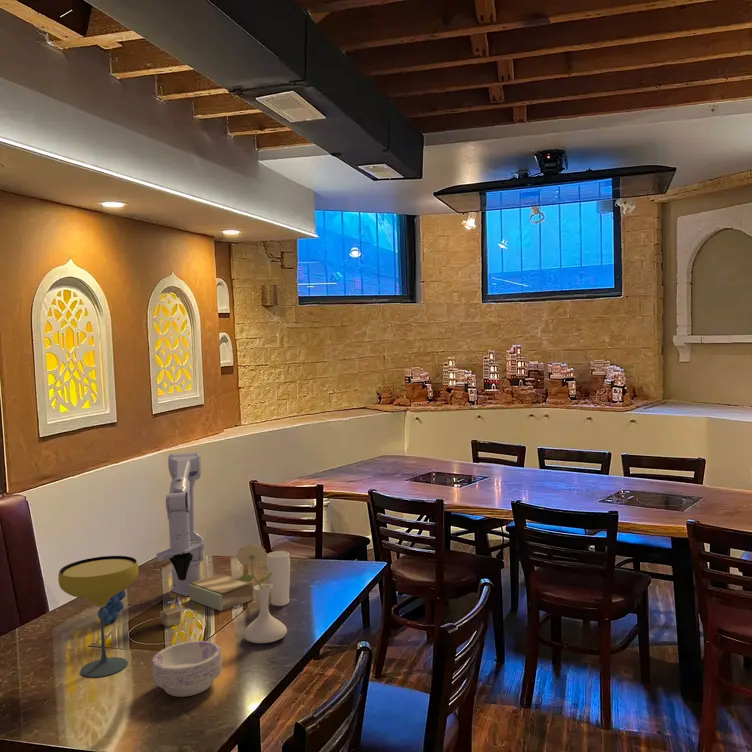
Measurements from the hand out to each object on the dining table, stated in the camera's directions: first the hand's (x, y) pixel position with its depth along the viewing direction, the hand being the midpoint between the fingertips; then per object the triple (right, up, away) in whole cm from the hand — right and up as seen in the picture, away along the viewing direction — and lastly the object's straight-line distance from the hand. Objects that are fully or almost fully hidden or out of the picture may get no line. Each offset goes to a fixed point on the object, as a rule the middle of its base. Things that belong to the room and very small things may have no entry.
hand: (182, 579), depth 212 cm
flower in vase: (+27, -10, -22) cm, 36 cm away
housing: (+10, -9, +10) cm, 17 cm away
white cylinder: (+28, -9, +4) cm, 30 cm away
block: (-1, -10, -8) cm, 13 cm away
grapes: (-20, -11, -4) cm, 23 cm away
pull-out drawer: (+9, -9, +9) cm, 16 cm away
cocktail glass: (-9, -12, -36) cm, 39 cm away
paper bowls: (+14, -11, -48) cm, 52 cm away
